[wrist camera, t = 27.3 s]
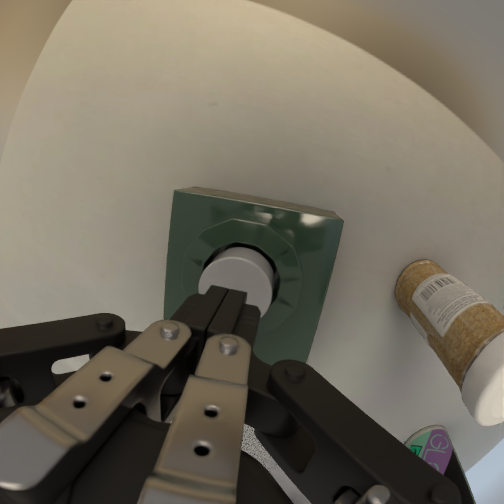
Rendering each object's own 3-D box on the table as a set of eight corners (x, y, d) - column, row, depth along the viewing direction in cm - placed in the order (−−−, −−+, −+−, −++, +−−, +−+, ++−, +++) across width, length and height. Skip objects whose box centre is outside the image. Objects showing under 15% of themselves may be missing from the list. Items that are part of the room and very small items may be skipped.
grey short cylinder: (213, 240, 16) (202, 250, 14) (280, 253, 16) (278, 265, 14) (205, 301, 17) (194, 318, 15) (268, 315, 16) (264, 333, 15)
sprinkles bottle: (395, 318, 21) (465, 443, 8) (391, 264, 20) (489, 369, 7) (444, 305, 20) (534, 407, 8) (443, 252, 20) (560, 331, 7)
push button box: (194, 186, 21) (159, 191, 15) (334, 211, 20) (351, 225, 14) (180, 332, 24) (151, 373, 18) (297, 357, 23) (297, 407, 17)
